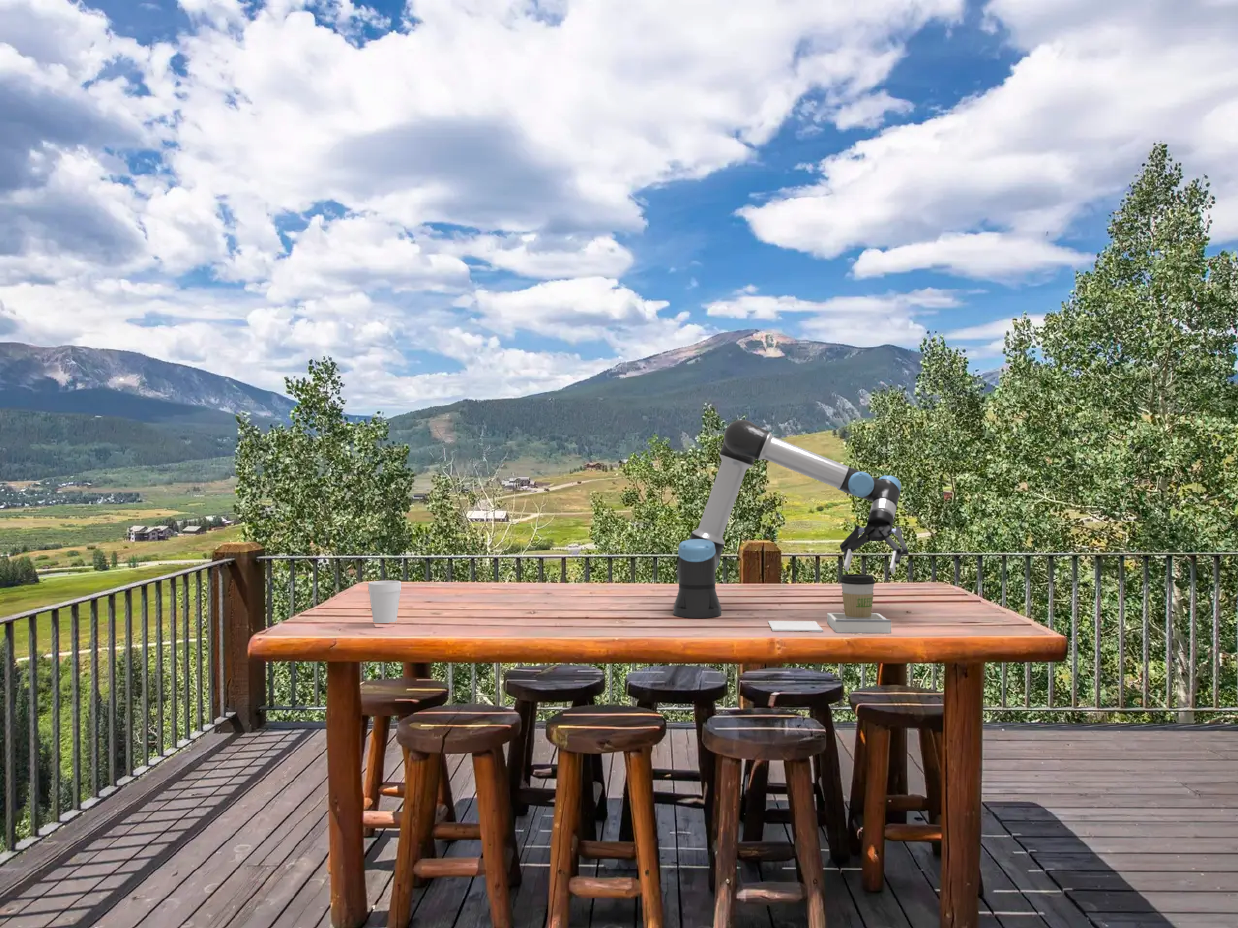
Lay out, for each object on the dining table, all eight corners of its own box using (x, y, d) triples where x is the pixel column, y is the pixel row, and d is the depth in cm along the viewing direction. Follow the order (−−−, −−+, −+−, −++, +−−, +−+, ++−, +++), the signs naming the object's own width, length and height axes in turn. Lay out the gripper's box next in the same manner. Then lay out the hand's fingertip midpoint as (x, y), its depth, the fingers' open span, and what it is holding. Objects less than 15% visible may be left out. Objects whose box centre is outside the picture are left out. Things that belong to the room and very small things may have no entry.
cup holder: (836, 632, 226) (836, 619, 226) (827, 622, 241) (827, 610, 241) (891, 633, 225) (891, 620, 225) (878, 623, 240) (878, 611, 240)
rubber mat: (772, 631, 228) (772, 629, 229) (768, 622, 242) (768, 620, 242) (823, 632, 227) (823, 629, 227) (815, 623, 241) (815, 621, 241)
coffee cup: (877, 631, 227) (877, 578, 228) (841, 630, 229) (841, 577, 230) (874, 625, 237) (873, 573, 237) (839, 624, 239) (838, 573, 239)
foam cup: (374, 630, 235) (374, 585, 236) (363, 625, 243) (363, 582, 243) (406, 626, 241) (406, 582, 241) (394, 622, 248) (394, 579, 249)
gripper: (925, 525, 250) (914, 579, 237) (844, 523, 263) (830, 575, 251) (920, 509, 245) (909, 563, 233) (839, 508, 259) (824, 559, 246)
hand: (868, 569), depth 242 cm, fingers open, 13 cm apart
